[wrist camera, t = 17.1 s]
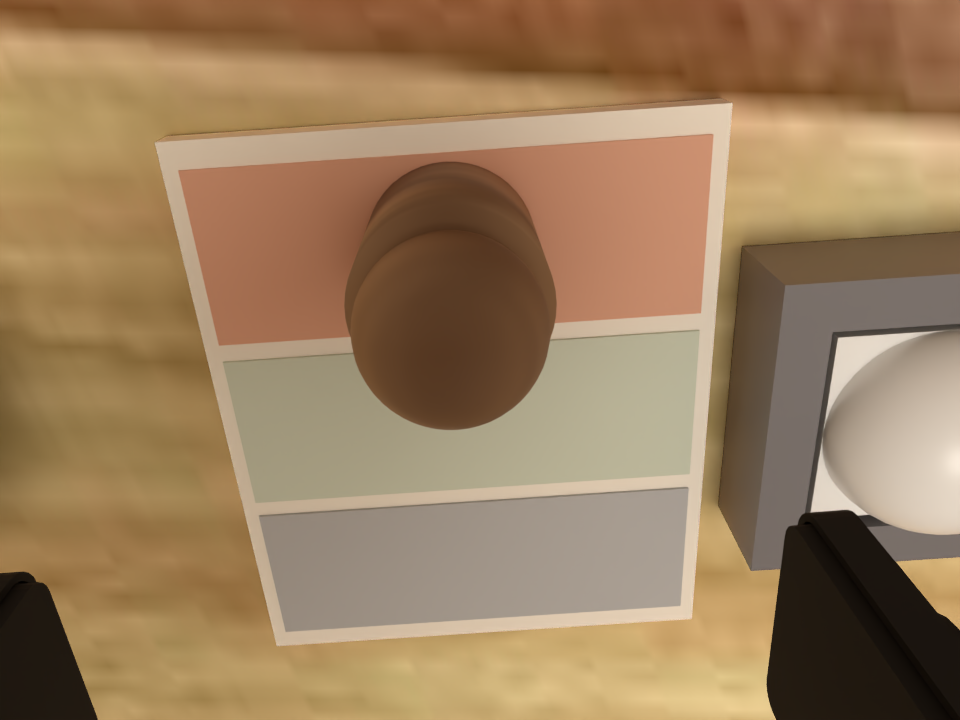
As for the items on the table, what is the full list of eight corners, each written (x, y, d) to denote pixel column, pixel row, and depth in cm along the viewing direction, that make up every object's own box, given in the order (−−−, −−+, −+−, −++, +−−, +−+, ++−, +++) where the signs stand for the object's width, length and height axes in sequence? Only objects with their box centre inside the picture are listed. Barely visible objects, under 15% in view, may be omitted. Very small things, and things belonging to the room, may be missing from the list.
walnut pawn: (377, 331, 24) (341, 489, 16) (354, 168, 21) (302, 262, 14) (538, 319, 24) (579, 471, 16) (532, 155, 21) (576, 242, 14)
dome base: (718, 506, 28) (751, 570, 25) (742, 246, 24) (785, 285, 21) (988, 488, 28) (1054, 550, 25) (1061, 224, 24) (1153, 260, 21)
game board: (282, 626, 30) (276, 648, 29) (166, 136, 22) (153, 143, 21) (684, 600, 30) (692, 620, 29) (721, 98, 22) (733, 103, 21)
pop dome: (772, 463, 27) (856, 588, 22) (793, 297, 25) (895, 391, 19) (950, 451, 27) (1081, 574, 22) (992, 283, 25) (1154, 373, 19)
